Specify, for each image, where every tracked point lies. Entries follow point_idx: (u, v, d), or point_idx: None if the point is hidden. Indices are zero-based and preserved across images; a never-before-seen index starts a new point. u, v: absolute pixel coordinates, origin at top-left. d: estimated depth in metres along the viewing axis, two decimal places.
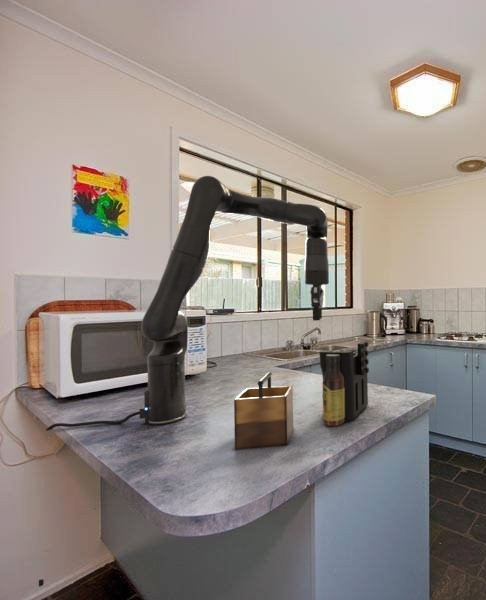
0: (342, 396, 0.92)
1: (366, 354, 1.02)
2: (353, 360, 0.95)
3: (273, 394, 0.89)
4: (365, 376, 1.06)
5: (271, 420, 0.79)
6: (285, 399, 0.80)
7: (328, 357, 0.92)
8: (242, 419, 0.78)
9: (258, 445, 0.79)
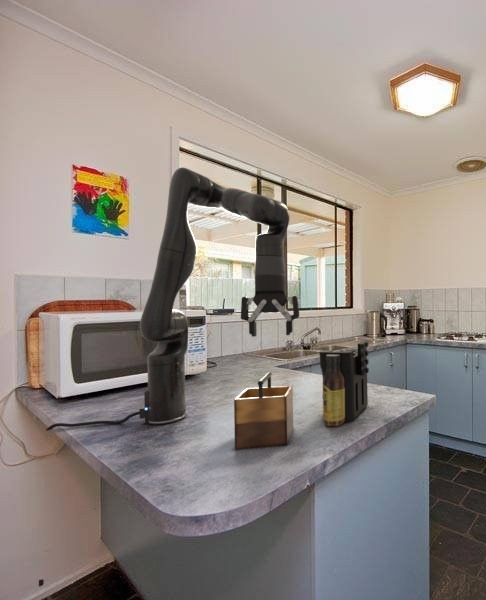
0: (342, 396, 0.92)
1: (366, 354, 1.02)
2: (353, 360, 0.95)
3: (273, 394, 0.89)
4: (365, 376, 1.06)
5: (271, 420, 0.79)
6: (285, 399, 0.80)
7: (328, 357, 0.91)
8: (242, 419, 0.78)
9: (258, 445, 0.79)
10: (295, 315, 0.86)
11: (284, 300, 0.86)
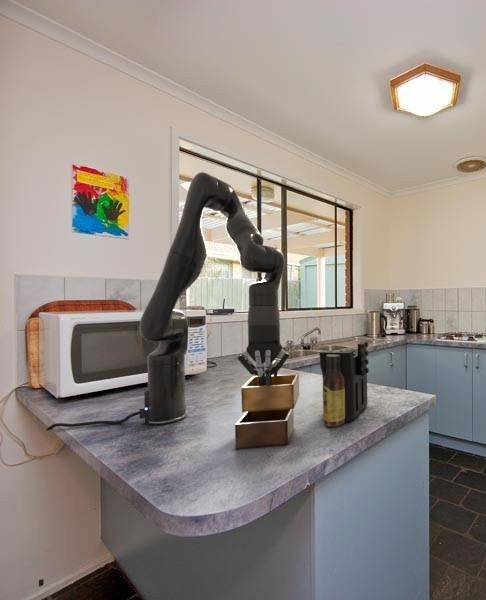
0: (342, 397, 0.92)
1: (366, 354, 1.02)
2: (353, 360, 0.95)
3: (279, 382, 0.89)
4: (365, 376, 1.06)
5: (278, 408, 0.80)
6: (292, 387, 0.80)
7: (328, 357, 0.91)
8: (249, 407, 0.79)
9: (259, 445, 0.79)
10: (274, 370, 0.83)
11: (278, 350, 0.84)
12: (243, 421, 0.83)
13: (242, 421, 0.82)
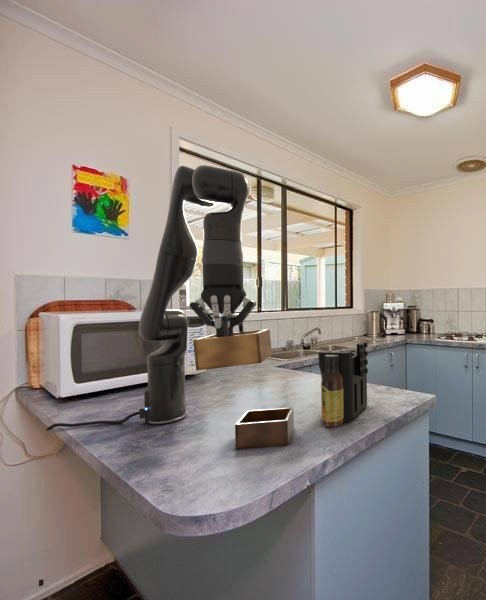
0: (341, 397, 0.92)
1: (365, 354, 1.01)
2: (352, 360, 0.95)
3: None
4: (364, 377, 1.06)
5: (242, 363, 0.65)
6: (257, 337, 0.65)
7: (327, 358, 0.91)
8: (205, 364, 0.64)
9: (259, 445, 0.79)
10: (235, 321, 0.68)
11: (240, 296, 0.69)
12: (243, 421, 0.83)
13: (242, 421, 0.82)
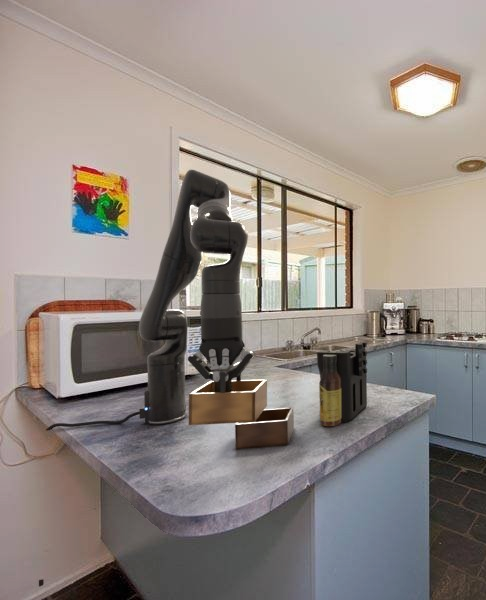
0: (339, 397, 0.92)
1: (364, 355, 1.01)
2: (350, 360, 0.95)
3: (243, 389, 0.73)
4: (364, 377, 1.06)
5: (235, 421, 0.64)
6: (253, 395, 0.64)
7: (325, 357, 0.91)
8: (199, 419, 0.63)
9: (259, 445, 0.79)
10: (233, 374, 0.68)
11: (239, 348, 0.68)
12: None
13: None
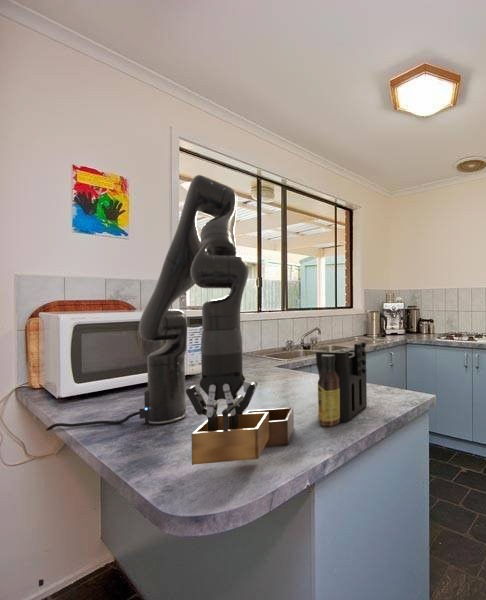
0: (337, 396, 0.92)
1: (363, 355, 1.01)
2: (348, 360, 0.95)
3: (245, 422, 0.73)
4: (363, 377, 1.06)
5: (238, 459, 0.64)
6: (256, 432, 0.65)
7: (323, 357, 0.92)
8: (202, 458, 0.63)
9: None
10: (240, 408, 0.68)
11: (239, 383, 0.68)
12: None
13: None
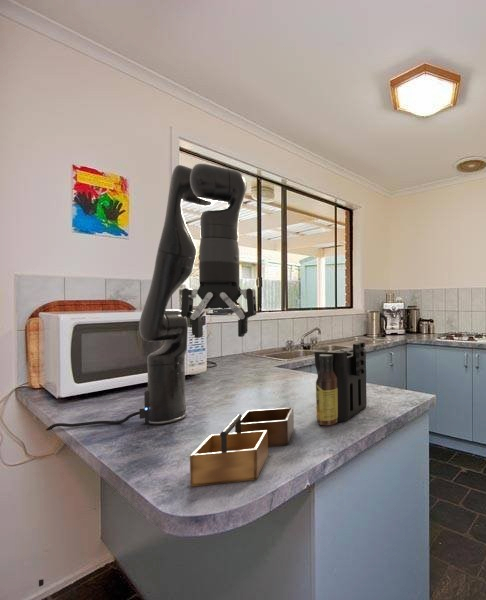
0: (335, 396, 0.92)
1: (362, 355, 1.01)
2: (346, 360, 0.95)
3: (243, 441, 0.73)
4: (363, 377, 1.06)
5: (237, 480, 0.64)
6: (255, 453, 0.65)
7: (321, 357, 0.92)
8: (200, 480, 0.63)
9: None
10: (249, 312, 0.70)
11: (236, 293, 0.70)
12: (243, 421, 0.83)
13: (242, 421, 0.82)
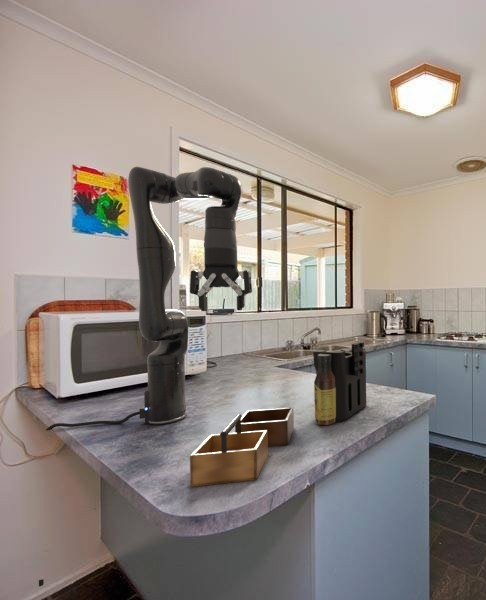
0: (332, 396, 0.93)
1: (361, 355, 1.01)
2: (345, 360, 0.95)
3: (243, 441, 0.73)
4: (363, 377, 1.06)
5: (237, 480, 0.64)
6: (255, 453, 0.65)
7: (319, 357, 0.92)
8: (200, 480, 0.63)
9: None
10: (246, 290, 0.85)
11: (235, 274, 0.85)
12: (243, 421, 0.83)
13: (242, 421, 0.82)
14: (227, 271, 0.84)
